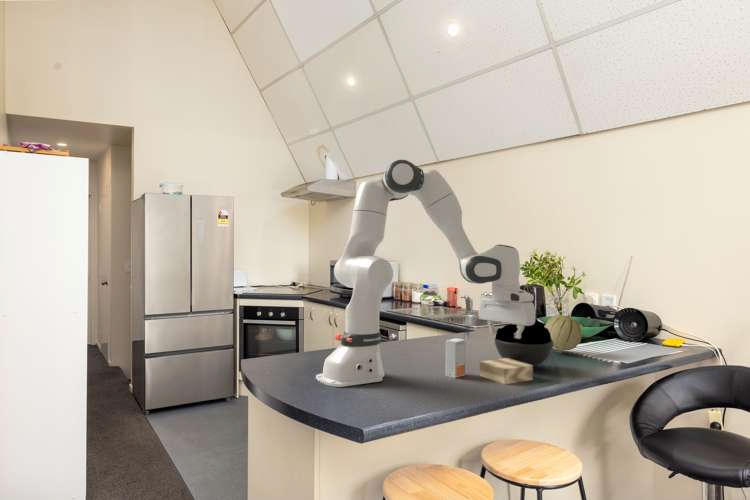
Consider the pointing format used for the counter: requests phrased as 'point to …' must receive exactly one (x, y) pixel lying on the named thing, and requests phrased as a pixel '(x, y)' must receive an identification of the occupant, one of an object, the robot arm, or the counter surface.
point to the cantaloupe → (564, 332)
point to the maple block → (506, 370)
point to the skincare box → (455, 358)
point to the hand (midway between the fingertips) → (505, 336)
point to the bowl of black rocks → (525, 343)
